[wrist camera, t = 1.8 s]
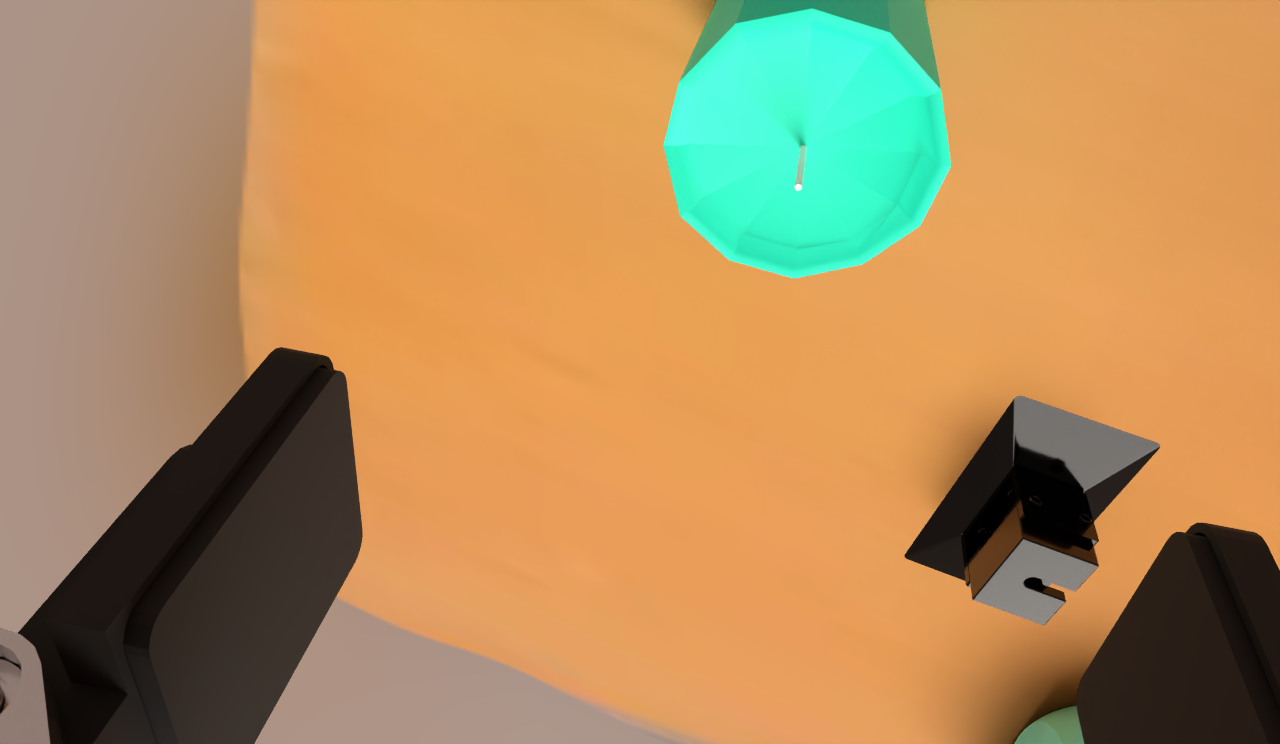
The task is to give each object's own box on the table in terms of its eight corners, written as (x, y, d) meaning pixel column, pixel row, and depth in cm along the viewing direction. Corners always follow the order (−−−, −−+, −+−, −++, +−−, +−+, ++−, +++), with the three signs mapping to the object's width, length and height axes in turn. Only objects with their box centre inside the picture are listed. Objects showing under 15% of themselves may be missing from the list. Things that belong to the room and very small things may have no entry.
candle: (939, -94, 26) (983, 35, 17) (911, 119, 30) (933, 326, 20) (720, -93, 27) (643, 28, 18) (718, 112, 31) (652, 307, 21)
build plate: (1017, 619, 42) (1032, 708, 38) (862, 563, 42) (862, 647, 38) (1200, 415, 34) (1240, 502, 31) (1011, 345, 34) (1029, 425, 31)
